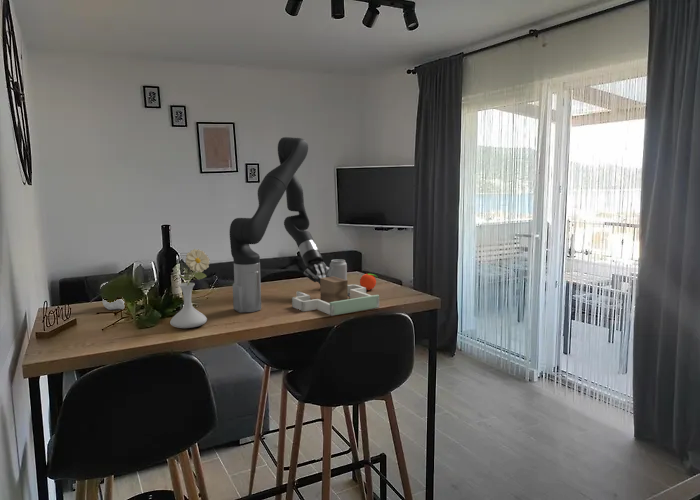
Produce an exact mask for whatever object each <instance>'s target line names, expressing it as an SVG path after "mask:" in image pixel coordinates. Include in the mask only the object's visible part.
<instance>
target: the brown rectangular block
mask: <svg viewBox="0 0 700 500" xmlns="http://www.w3.org/2000/svg"><path fill="white" fill-rule="evenodd" d="M348 285H349V283H348V279H347V280H344V279H341V278H337V277H334V276H332V277H325V278H320V284H319V287H320V290H319V291H320V293H319V294H320V300H322V301H325V302H327V303H330V302H335V301H341V300H347V299H349V296H348Z"/></svg>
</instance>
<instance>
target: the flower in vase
mask: <svg viewBox="0 0 700 500" xmlns="http://www.w3.org/2000/svg"><path fill="white" fill-rule="evenodd" d="M185 256H186V257H185V264H186V266H187V267H188V268H189V270H190V271H192V275H191V276H190V278H189V277H188V276H185V275H181V274H180V273H178V277H179V278H180V279H184V280H187V281H188V282H182V283H179V284H178V286H179V287H180V288H179V289H180V290H181V292H182V296H183V306H182V308H181V309H179V311H178V312H177V313H176V314H175V315H173V316H172V318H171V319H170V322H169V323H170V325H171V326H172V327H175V328H178V329H190V328H191V329H193V328H197V327H200V326H202V325H204V324H205V323H207V322H208V318H207V316H206V315H205V314H204V313H202V312H200V311H199V310H198V309H196V308H195V307H194V306H193V304H192V292H193V289H194V286H195V284H196V283H195V282H191V280H192V279H193V277H194V278H196V279H197V280H202V279H205V278H207V274H205V273H204V270H205V271H206V270H207V269H208V268H209V267H210V266H209V265H210V264H211V263H210V258H209V256H208V255H207V253H205V251H203V250H201V249H196V248H194V249H192V250H190V251H189V252H187V253H186V255H185Z"/></svg>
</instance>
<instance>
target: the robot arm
mask: <svg viewBox="0 0 700 500" xmlns="http://www.w3.org/2000/svg"><path fill="white" fill-rule="evenodd" d="M308 152H309V143H308V141H307V140H306V139H304V138H302V137H301V138H300V137H289V136H284V137H283V136H282V138H280V139H279V140H278V143H277V155H278V160H279V165H277V166H276V167H275V168H273V169H271V170H269V172H268V173H267V174H266V175H265V176H264V177H263V179H262V181H261V182H260V184H259V186H258V188H257V200H258V206H257V210H256V211H255V213H254V214H253V216H252V217H236V218H234V219H233V220H232V221H231V222H230V226H229V242H230V254H231V257H232V259H233V276H234V277H233V279H234V282H233V283H232V300H233V301H232V303H233V304H232V305H233V310H234V311H235V312H237V313H254V312H259V311H261V310H262V291H261V290H262V287H261V284H262V283H261V282H262V281H261V258H260V254H258V253H257V252H256V251H254V250H253V249H252V248H251V246H250V245H256V244H258V243H260V242H261V241H262V239H263V238H264V235H265V233H266V231H267V228H268V226H269V223H270V221H271V219H272V217H273V214H274V212H275V210H276V208H277V206H278V204H279V202H280V201H281V199H282V198H283V195H284V194H286V206H287V208H286V209H287V210H288V211H289V212H297V213H298V214H294V215H289V216H287V217H285V218H284V221H283V225H284V226H283V227H284V228H285V230H286V232H287V233H288V235H289V236H290V237H291V238H292V239H293V241H295V243H296V246H297V248H298V250H299V254H300V256H301V259H302V261H303V264H304V265H305V268H306V269H305V270H304V272H302V273H303V274H302V275H304V276H305V277H306V278H307V279H309V280H311V282H313V283H317V284H319V285H320V278H325V277H330V274H331V271H332V267H330V266H327V264H326V263H325V262H324V259H323V256H322V254H321V252H320V249H319V247H318V245H317V244H316V242H315V240H314V238H313V236H312V234H311V232H309V231H308V229H309V228H310V219H309V216H308V214H307V211H306V206H305V201H304V189H303V187H302V184H301V183H300V181H299V179H298V177H297V176H296V173H297V171H298V169H299V168H300V166H302V164H303V163H304V162H305V159H306V158H307V155H308Z"/></svg>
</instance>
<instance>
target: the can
mask: <svg viewBox="0 0 700 500" xmlns="http://www.w3.org/2000/svg"><path fill="white" fill-rule="evenodd" d="M347 264H348V263H347V262H346V260H345V259H342V258H340V259H337V258H336V259H331V262H330V263H329V267H332V271H331V274H330V277H332V276H334V277H337V278H341V279H344V280H347V281H348V272H347V271H348V265H347Z"/></svg>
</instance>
